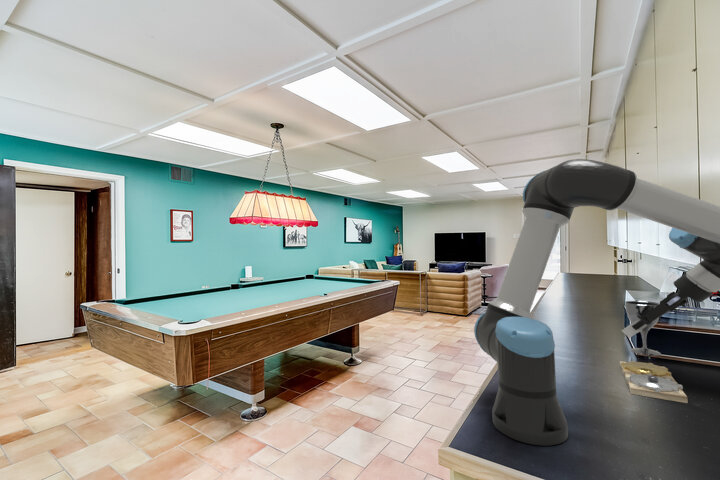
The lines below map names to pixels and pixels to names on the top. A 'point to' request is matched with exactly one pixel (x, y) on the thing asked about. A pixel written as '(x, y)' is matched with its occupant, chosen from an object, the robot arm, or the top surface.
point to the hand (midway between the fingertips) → (629, 331)
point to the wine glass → (641, 309)
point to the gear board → (651, 393)
